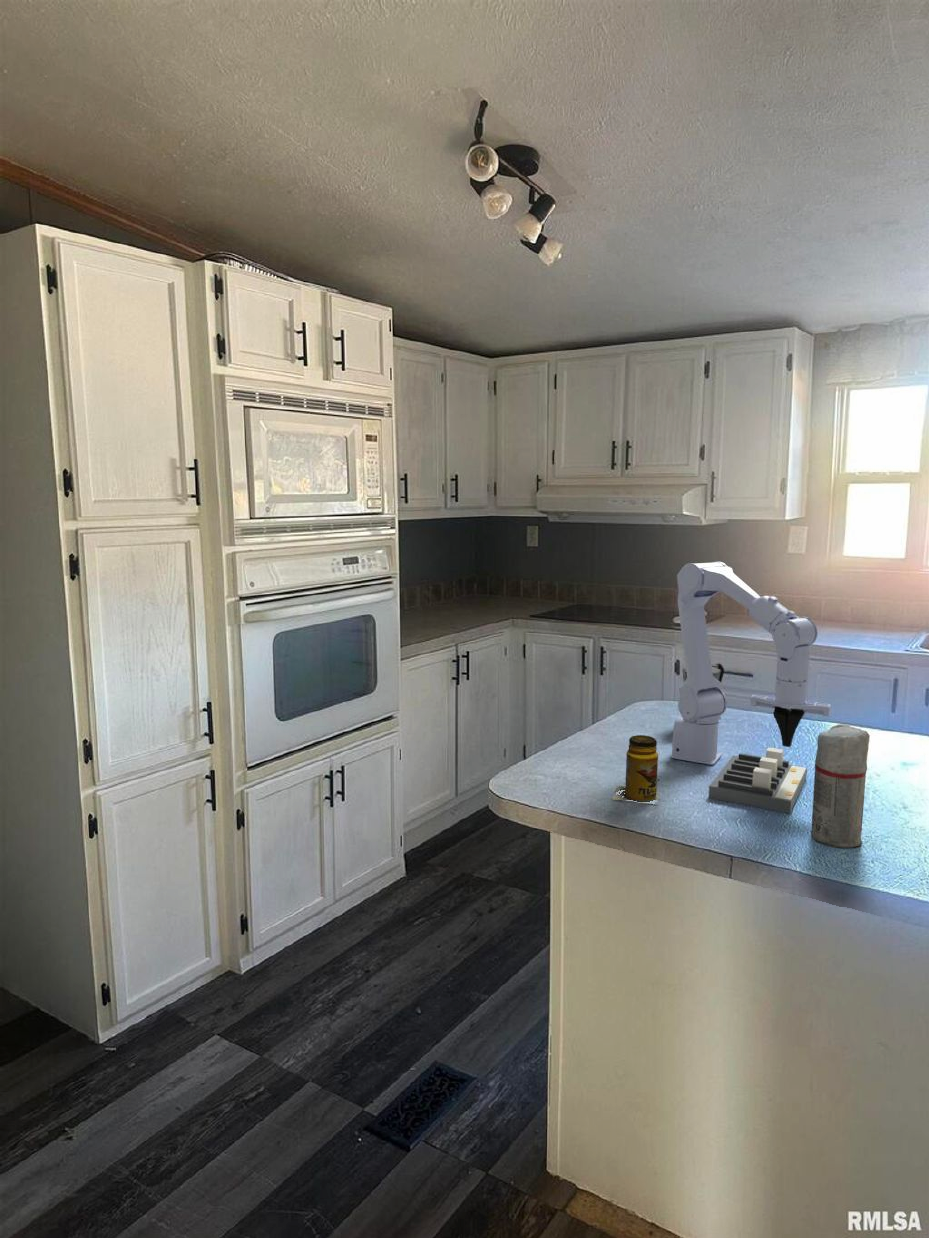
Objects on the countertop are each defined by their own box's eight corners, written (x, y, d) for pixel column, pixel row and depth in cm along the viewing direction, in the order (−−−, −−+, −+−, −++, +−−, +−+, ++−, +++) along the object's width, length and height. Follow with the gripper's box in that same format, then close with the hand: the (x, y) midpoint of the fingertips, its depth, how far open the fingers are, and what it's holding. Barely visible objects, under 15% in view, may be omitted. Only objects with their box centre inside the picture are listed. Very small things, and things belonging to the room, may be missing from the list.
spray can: (859, 854, 130) (869, 738, 127) (806, 842, 134) (814, 730, 131) (864, 835, 137) (874, 725, 134) (813, 825, 141) (822, 718, 138)
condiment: (656, 805, 150) (659, 745, 148) (612, 800, 153) (614, 741, 151) (659, 792, 157) (661, 734, 155) (616, 787, 159) (618, 730, 157)
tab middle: (758, 777, 158) (759, 760, 157) (761, 773, 160) (762, 756, 159) (774, 780, 156) (775, 762, 155) (776, 776, 158) (777, 759, 157)
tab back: (765, 766, 163) (766, 750, 163) (767, 763, 165) (768, 747, 165) (780, 769, 162) (781, 752, 161) (782, 766, 164) (783, 749, 163)
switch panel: (708, 797, 154) (709, 781, 153) (732, 765, 172) (733, 750, 171) (790, 813, 146) (791, 796, 146) (806, 778, 164) (807, 763, 164)
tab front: (752, 788, 152) (753, 770, 151) (754, 784, 154) (755, 767, 153) (768, 791, 150) (769, 773, 149) (770, 787, 152) (771, 769, 151)
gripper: (748, 678, 154) (744, 744, 157) (829, 688, 147) (823, 757, 149) (756, 671, 160) (752, 735, 163) (834, 680, 153) (828, 747, 155)
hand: (787, 745), depth 156 cm, fingers closed
